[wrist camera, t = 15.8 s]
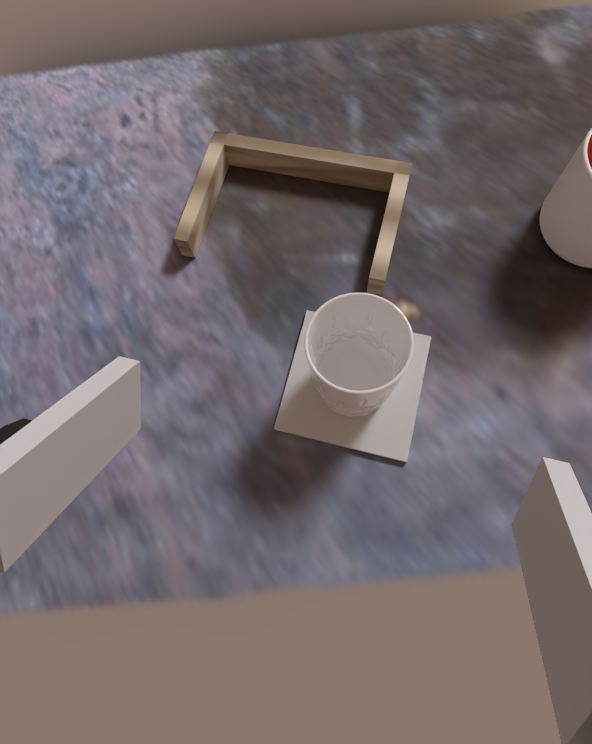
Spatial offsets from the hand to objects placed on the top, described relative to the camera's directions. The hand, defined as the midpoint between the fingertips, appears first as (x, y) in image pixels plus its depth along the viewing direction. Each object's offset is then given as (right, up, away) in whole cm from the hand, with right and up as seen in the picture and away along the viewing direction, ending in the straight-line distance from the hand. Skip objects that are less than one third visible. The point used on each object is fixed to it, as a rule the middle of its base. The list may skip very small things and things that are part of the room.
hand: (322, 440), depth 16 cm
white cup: (+4, +1, +29) cm, 29 cm away
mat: (+4, +1, +29) cm, 30 cm away
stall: (-1, +18, +35) cm, 40 cm away
